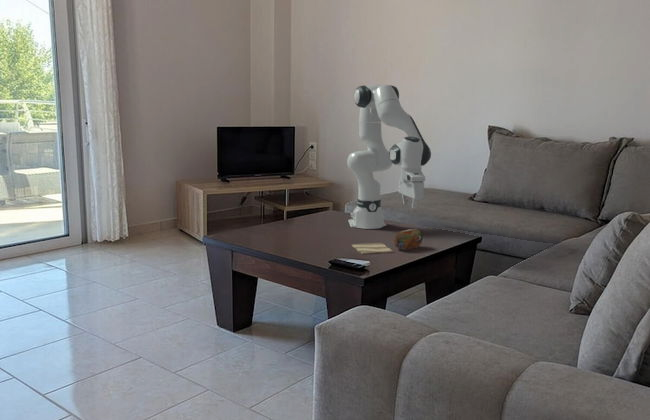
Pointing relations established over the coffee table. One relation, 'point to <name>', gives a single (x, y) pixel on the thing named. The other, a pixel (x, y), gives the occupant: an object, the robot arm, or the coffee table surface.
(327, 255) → the coffee table surface
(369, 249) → the mat
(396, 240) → the tin
